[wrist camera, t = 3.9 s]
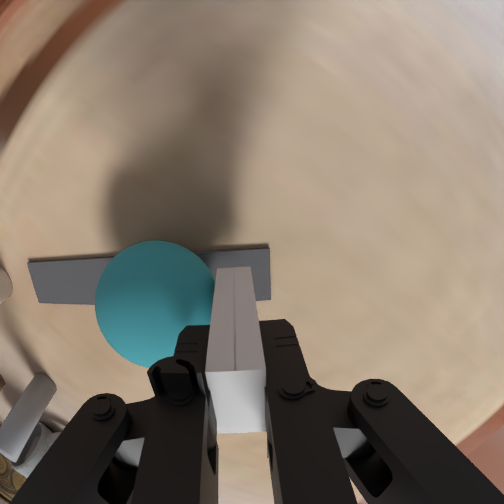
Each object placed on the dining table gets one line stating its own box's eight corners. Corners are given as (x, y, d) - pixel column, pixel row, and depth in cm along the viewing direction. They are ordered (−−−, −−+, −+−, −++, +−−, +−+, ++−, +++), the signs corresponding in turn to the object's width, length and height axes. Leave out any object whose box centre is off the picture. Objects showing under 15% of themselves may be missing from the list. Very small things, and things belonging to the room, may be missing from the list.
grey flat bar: (269, 247, 15) (269, 249, 15) (270, 298, 16) (270, 299, 16) (28, 262, 15) (27, 263, 15) (40, 301, 16) (39, 302, 16)
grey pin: (49, 374, 18) (4, 447, 10) (60, 394, 19) (21, 466, 11) (32, 370, 18) (-14, 437, 10) (42, 389, 19) (3, 456, 11)
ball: (234, 226, 14) (167, 276, 8) (241, 332, 16) (197, 410, 10) (135, 225, 15) (54, 263, 10) (152, 317, 17) (93, 373, 12)
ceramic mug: (69, 461, 24) (53, 502, 17) (23, 422, 22) (1, 464, 14) (116, 458, 23) (102, 511, 16) (62, 414, 21) (36, 469, 13)
